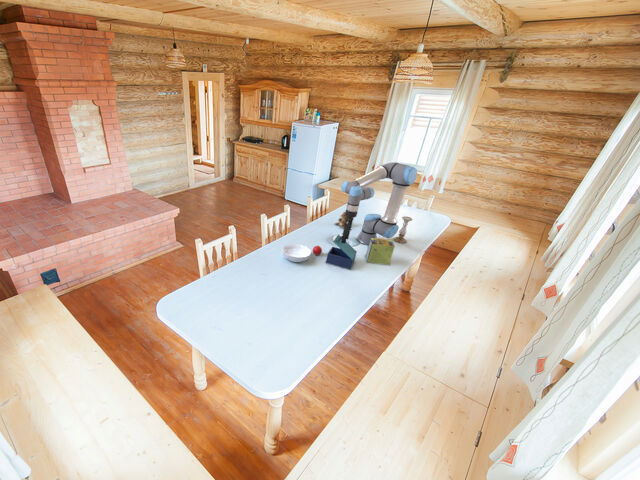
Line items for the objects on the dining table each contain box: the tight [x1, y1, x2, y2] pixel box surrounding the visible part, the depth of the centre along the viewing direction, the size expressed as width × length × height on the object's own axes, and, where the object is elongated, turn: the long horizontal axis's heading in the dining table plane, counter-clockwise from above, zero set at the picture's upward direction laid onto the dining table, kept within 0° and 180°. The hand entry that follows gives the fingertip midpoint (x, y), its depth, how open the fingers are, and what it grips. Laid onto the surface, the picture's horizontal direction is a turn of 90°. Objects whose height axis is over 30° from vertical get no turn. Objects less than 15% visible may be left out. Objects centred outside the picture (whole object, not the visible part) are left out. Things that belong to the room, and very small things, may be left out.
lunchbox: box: [325, 246, 357, 270], centre depth 229 cm, size 18×13×8 cm
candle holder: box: [394, 215, 413, 244], centre depth 259 cm, size 9×9×20 cm
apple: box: [311, 245, 323, 256], centre depth 238 cm, size 7×7×8 cm
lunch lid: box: [332, 233, 358, 260], centre depth 221 cm, size 18×13×8 cm
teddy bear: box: [335, 211, 355, 229], centre depth 284 cm, size 10×14×13 cm
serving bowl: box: [281, 243, 312, 263], centre depth 233 cm, size 21×21×7 cm
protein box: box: [365, 238, 396, 266], centre depth 231 cm, size 10×15×16 cm
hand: (344, 240), depth 222 cm, fingers closed on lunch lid, 7 cm apart
